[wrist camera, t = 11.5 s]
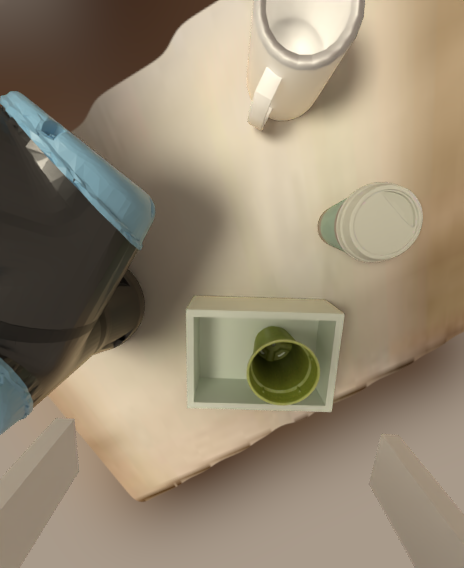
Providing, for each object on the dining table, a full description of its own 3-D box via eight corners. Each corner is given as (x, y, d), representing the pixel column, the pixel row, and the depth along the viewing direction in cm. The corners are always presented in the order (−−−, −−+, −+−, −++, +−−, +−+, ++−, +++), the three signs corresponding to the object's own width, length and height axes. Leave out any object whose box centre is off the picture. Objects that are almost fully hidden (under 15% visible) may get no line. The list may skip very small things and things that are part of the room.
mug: (285, 158, 34) (308, 126, 24) (221, 121, 34) (217, 71, 23) (337, 59, 32) (388, -25, 22) (269, 15, 31) (288, -94, 21)
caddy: (194, 379, 42) (186, 408, 35) (194, 295, 39) (185, 309, 32) (315, 382, 42) (331, 412, 35) (324, 299, 39) (344, 313, 32)
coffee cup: (368, 246, 37) (431, 253, 25) (313, 260, 38) (350, 273, 26) (361, 189, 35) (425, 168, 24) (303, 204, 36) (338, 190, 24)
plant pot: (266, 379, 41) (274, 418, 32) (232, 338, 39) (231, 367, 31) (312, 348, 40) (334, 380, 31) (279, 304, 38) (292, 325, 30)
